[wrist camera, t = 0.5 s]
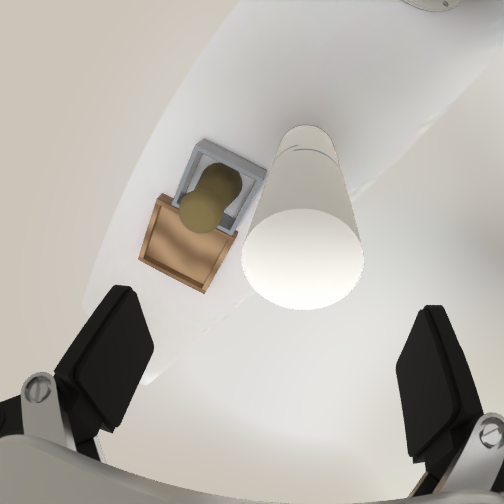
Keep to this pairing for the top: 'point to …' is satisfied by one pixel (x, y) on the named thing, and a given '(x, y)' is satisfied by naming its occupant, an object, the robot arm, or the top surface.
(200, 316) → the top surface
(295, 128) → the cylindrical container
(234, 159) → the grey square frame
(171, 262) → the tray
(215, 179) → the cork
